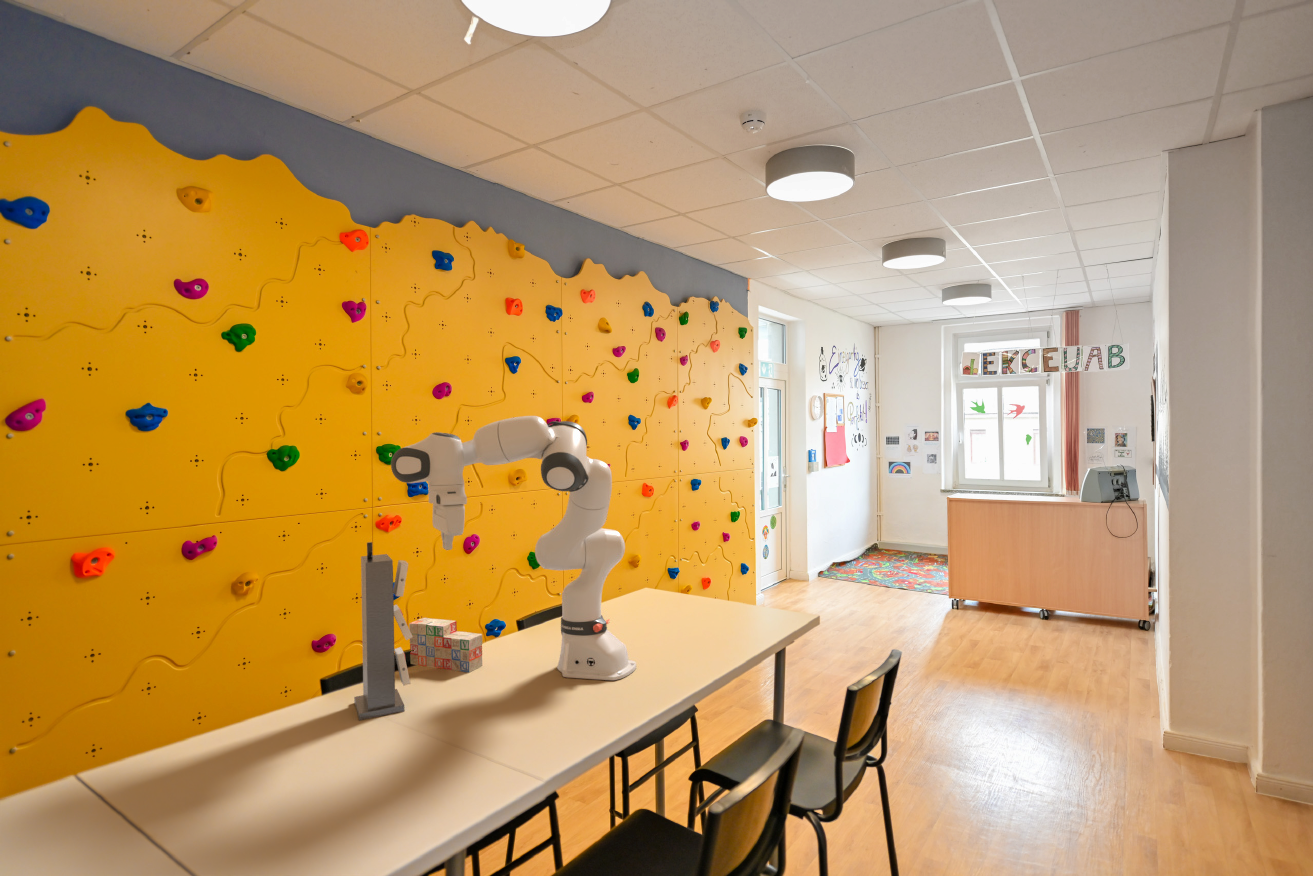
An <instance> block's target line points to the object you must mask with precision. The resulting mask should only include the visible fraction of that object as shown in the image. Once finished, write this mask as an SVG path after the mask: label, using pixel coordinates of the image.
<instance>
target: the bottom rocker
mask: <svg viewBox="0 0 1313 876" xmlns="http://www.w3.org/2000/svg"><path fill="white" fill-rule="evenodd" d="M394 657H395V659H396V660H395V662H396V664H397V669H398V673H399V679H400V681H401V684H402V685H403V687H405V686H407V685H410V684H411V681H410V675H409V671H408V670H409V669H408V666H407V662H406V653H405V651H403V648H402V647H401V646H400V647H397V648H394Z"/></svg>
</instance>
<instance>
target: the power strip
mask: <svg viewBox="0 0 1313 876" xmlns="http://www.w3.org/2000/svg"><path fill="white" fill-rule="evenodd" d="M373 553H374V552H373V542H372V541H369V542H366V555H364V556H360V562H361V563H360V567H361V569H360V570H361V571H360V572H361V576H360V579H361V623H362V624H361V629H362V631H361V632H362V636H361V637H362V639H361V640H362V685H363V686H362V687H363V688H362V691H363V693H362V695H358V696H354V697H353V699H354V701H353V702H354V706H355V709H356V713H357V717H358V721H363V720H368V719H373V718H377V717H382V716H388V715H393V714H397V713H402V712H405V710H406V709H405V703H404V701H403V698H402V697H401V695H400V692H399V691H398V689H397V688H396V675H395V674H396V673H395V670H396V669H395V662H396V660H395V659H396V658H395V651H394V649H395V617H394V604H395V603H394V600H395V599H394V593H393V590H394V565H393V564H394V561H393V559H392V558H391V557H390V556H389V554H387V553H385V554H375V555H373Z"/></svg>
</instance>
